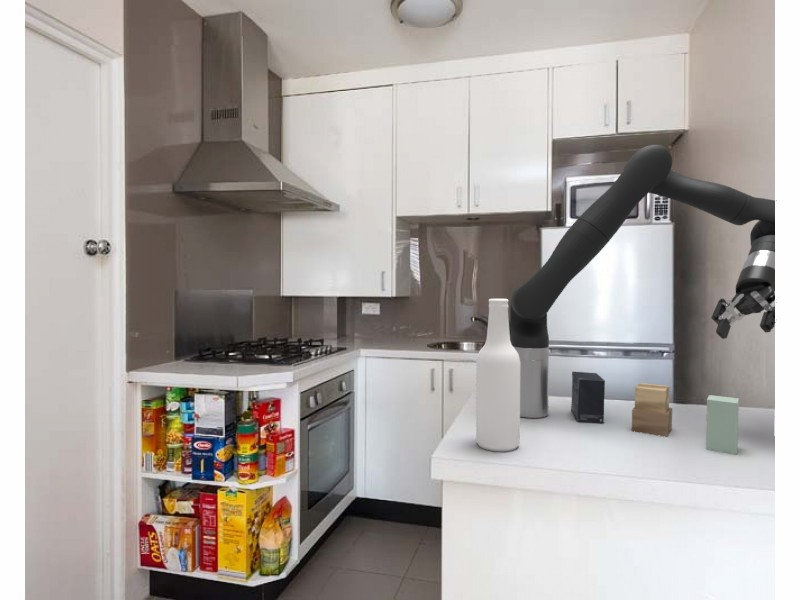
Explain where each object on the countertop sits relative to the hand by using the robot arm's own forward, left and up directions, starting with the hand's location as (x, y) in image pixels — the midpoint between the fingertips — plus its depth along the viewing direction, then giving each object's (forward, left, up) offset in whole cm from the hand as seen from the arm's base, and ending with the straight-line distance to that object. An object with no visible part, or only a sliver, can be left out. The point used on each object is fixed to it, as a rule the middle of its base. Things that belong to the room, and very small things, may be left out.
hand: (742, 333), depth 97 cm
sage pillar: (-4, -1, -23) cm, 24 cm away
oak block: (-11, +13, -18) cm, 25 cm away
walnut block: (-11, +12, -23) cm, 28 cm away
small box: (-19, +24, -23) cm, 39 cm away
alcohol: (-48, +7, -23) cm, 54 cm away
